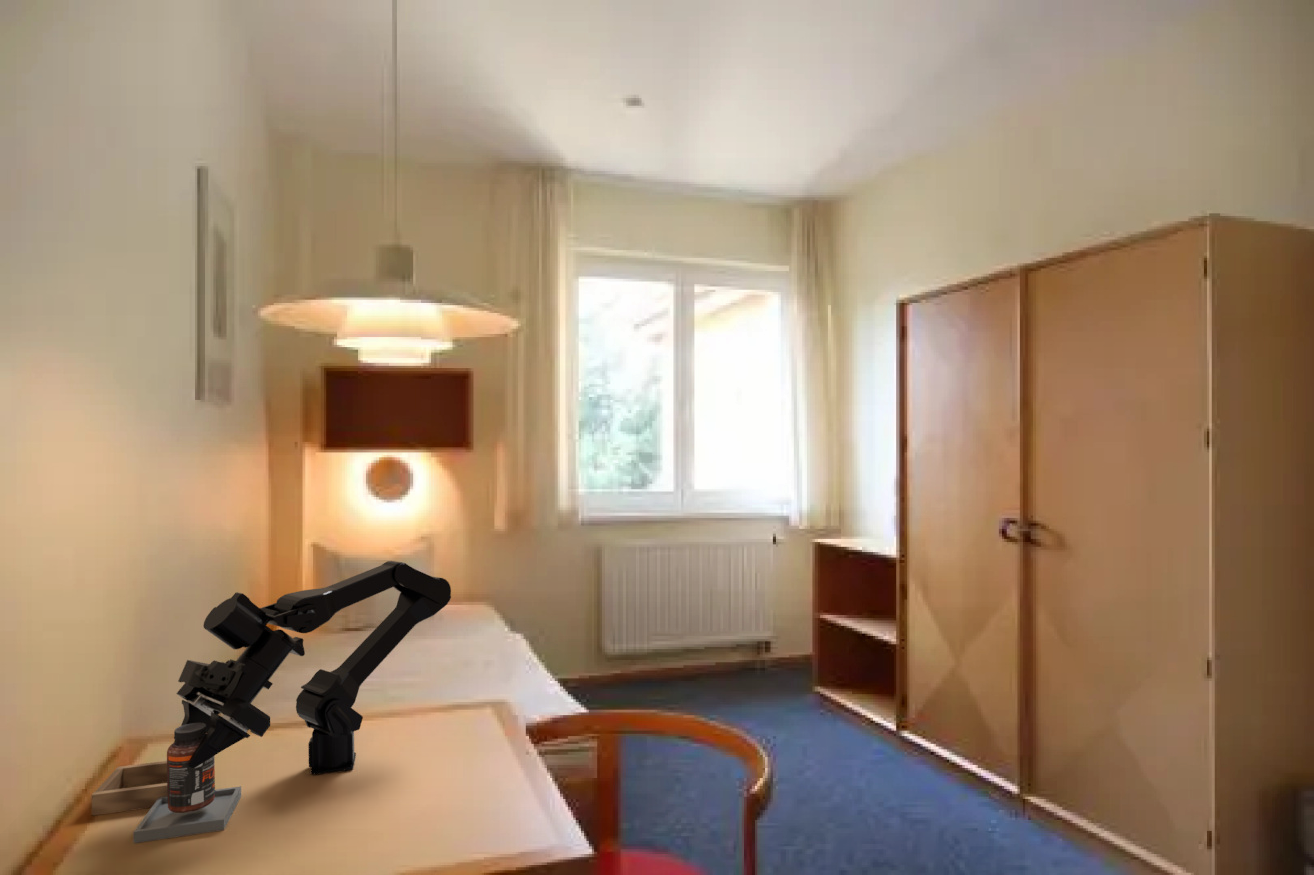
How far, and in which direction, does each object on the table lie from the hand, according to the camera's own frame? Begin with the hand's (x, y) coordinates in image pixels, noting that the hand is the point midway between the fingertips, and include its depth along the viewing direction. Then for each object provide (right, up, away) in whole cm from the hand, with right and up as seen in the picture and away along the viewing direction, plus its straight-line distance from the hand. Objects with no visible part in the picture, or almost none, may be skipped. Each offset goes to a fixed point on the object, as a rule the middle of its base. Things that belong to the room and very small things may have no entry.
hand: (180, 761), depth 111 cm
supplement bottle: (+1, -7, +1) cm, 7 cm away
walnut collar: (-11, -9, +9) cm, 17 cm away
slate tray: (+1, -9, +1) cm, 9 cm away
